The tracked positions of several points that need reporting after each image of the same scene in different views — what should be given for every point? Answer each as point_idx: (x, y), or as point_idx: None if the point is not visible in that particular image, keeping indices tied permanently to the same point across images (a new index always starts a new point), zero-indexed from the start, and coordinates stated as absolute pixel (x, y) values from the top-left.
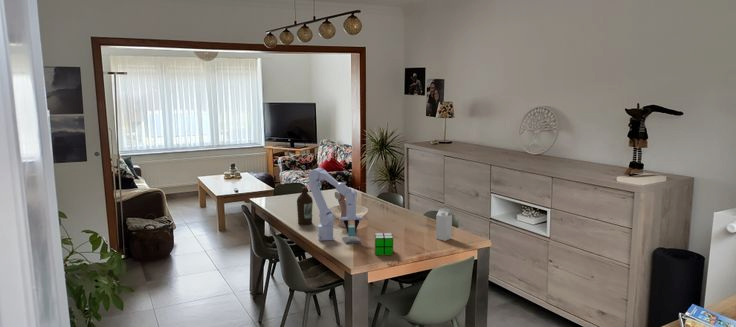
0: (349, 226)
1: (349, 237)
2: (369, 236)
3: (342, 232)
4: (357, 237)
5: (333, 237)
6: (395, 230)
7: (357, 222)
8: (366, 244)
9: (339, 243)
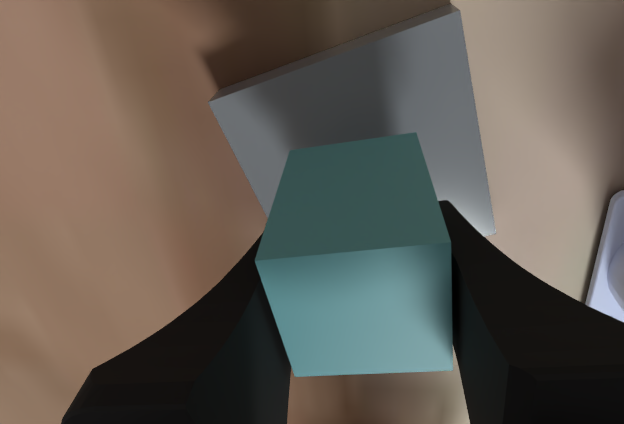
0: (413, 324)
1: None
2: (170, 311)
3: (453, 407)
4: None
5: (606, 267)
6: (13, 418)
7: (118, 385)
8: (107, 4)
9: (565, 36)
